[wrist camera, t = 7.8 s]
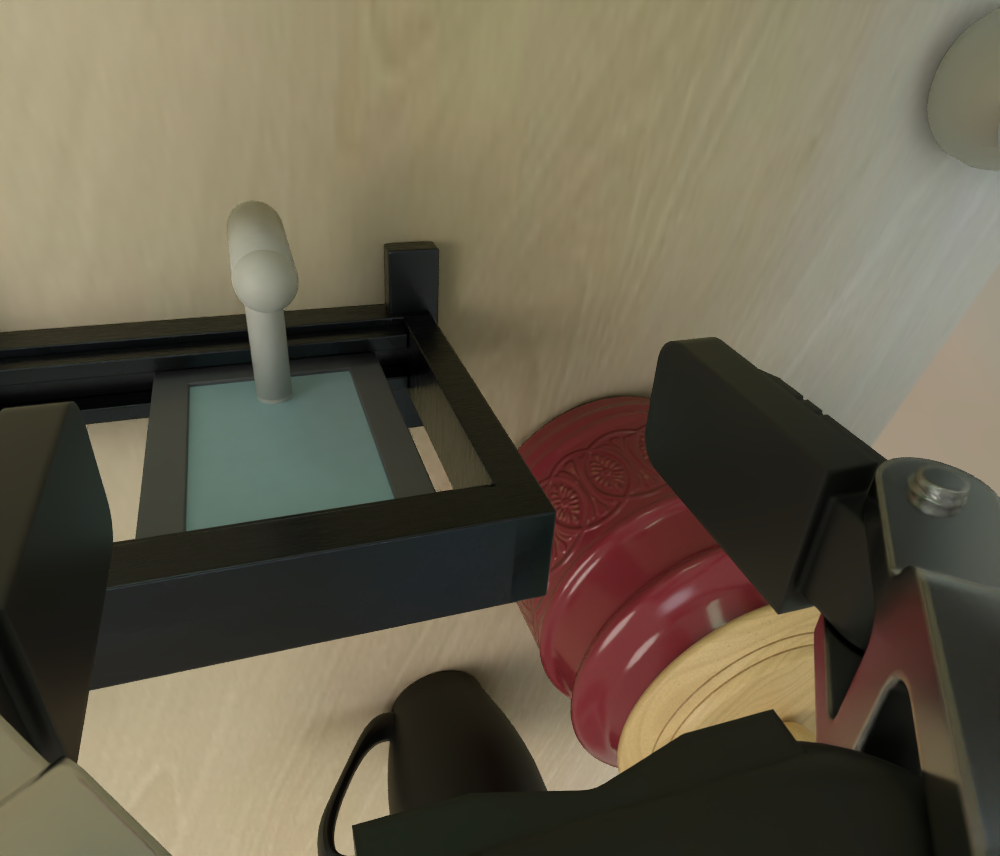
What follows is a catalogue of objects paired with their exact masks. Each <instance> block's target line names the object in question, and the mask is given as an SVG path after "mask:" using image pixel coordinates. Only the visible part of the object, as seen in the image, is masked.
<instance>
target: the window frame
mask: <svg viewBox="0 0 1000 856" xmlns="http://www.w3.org/2000/svg"><path fill="white" fill-rule="evenodd" d="M384 274H385V304H378V305H364V306H351V307H338V308H324V309H311V310H298V311H284V318H285V328H286V337H287V347H288V356H289V360H291V359H301V358H312V357H323V356H333V355H344V354H354V353H365V352H375V353H376V356H377V358H378V360H379V363H380V365H381V367H382V370H383V372H384V374H385V376H386V379H387V381H388V383H389V386H390V388H391V390H392V393H393V395H394V397H395V399H396V402H397V404H398V406H399V409H400V411H401V413H402V416H403V418H404V420H405V422H406V425H407V427H408V428H411V427H419V426H424V427H425V429H426V431H427V434H428V436H429V438H430V440H431V442H432V444H433V446H434V448H435V451H436V453H437V455H438V457H439V459H440V461H441V463H442V465H443V468H444V470H445V472H446V474H447V476H448V478H449V480H450V482H451V485H452V487H453V489H454V490H448V491H441V492H435V493H428V494H422V495H415V496H409V497H403V498H396V499H390V500H383V501H377V502H370V503H364V504H358V505H351V506H345V507H338V508H332V509H325V510H319V511H313V512H306V513H300V514H293V515H287V516H280V517H274V518H267V519H261V520H255V521H248V522H242V523H235V524H229V525H222V526H216V527H210V528H203V529H197V530H190V531H184V532H177V533H171V534H165V535H158V536H152V537H145V538H139V539H132V540H126V541H119V542H113V550H112V557H111V563H110V569H109V575H108V581H107V587H106V593H105V599H104V605H103V611H102V617H101V623H100V629H99V635H98V641H97V647H96V653H95V659H94V665H93V671H92V677H91V683H90V689H89V691H90V690H95V689H100V688H105V687H110V686H114V685H119V684H124V683H129V682H134V681H138V680H143V679H148V678H153V677H158V676H162V675H167V674H172V673H177V672H182V671H186V670H191V669H196V668H201V667H206V666H210V665H215V664H220V663H225V662H230V661H234V660H239V659H244V658H249V657H254V656H258V655H263V654H268V653H273V652H278V651H282V650H287V649H292V648H297V647H302V646H306V645H311V644H316V643H321V642H326V641H330V640H335V639H340V638H345V637H350V636H354V635H359V634H364V633H369V632H374V631H378V630H383V629H388V628H393V627H398V626H402V625H407V624H412V623H417V622H422V621H426V620H431V619H436V618H441V617H446V616H450V615H455V614H460V613H465V612H470V611H474V610H479V609H484V608H489V607H494V606H498V605H503V604H508V603H513V602H518V601H522V600H527V599H532V598H537V597H542V596H545V595H546V594H547V588H548V579H549V571H550V563H551V554H552V546H553V538H554V529H555V521H556V510H555V508H554V507H553V505H552V503H551V502H550V500H549V499H548V497H547V496H546V494H545V492H544V491H543V489H542V488H541V486H540V485H539V483H538V481H537V480H536V478H535V477H534V475H533V474H532V472H531V471H530V469H529V467H528V466H527V464H526V463H525V461H524V460H523V458H522V456H521V455H520V453H519V452H518V450H517V449H516V447H515V445H514V444H513V442H512V441H511V439H510V438H509V436H508V434H507V433H506V431H505V430H504V428H503V427H502V425H501V423H500V422H499V420H498V419H497V417H496V416H495V414H494V412H493V411H492V409H491V408H490V406H489V405H488V403H487V401H486V400H485V398H484V397H483V395H482V394H481V392H480V390H479V389H478V387H477V386H476V384H475V383H474V381H473V379H472V378H471V376H470V375H469V373H468V372H467V370H466V368H465V367H464V365H463V364H462V362H461V361H460V359H459V357H458V356H457V354H456V353H455V351H454V350H453V348H452V346H451V345H450V343H449V342H448V340H447V339H446V337H445V335H444V334H443V332H442V331H441V329H440V328H439V326H438V285H439V249H438V248H437V247H436V245H435V244H434V243H433V242H413V243H393V244H384ZM248 363H252V357H251V349H250V342H249V334H248V327H247V320H246V314H244V315H231V316H217V317H204V318H191V319H177V320H164V321H151V322H137V323H124V324H110V325H97V326H84V327H70V328H57V329H44V330H30V331H17V332H3V333H0V411H1V410H2V409H5V408H13V407H23V406H33V405H42V404H52V403H62V402H72V401H73V402H75V403H76V404H77V406H78V407H79V409H80V411H81V413H82V416H83V419H84V422H85V424H94V423H103V422H112V421H121V420H130V419H139V418H148V417H149V415H150V406H151V397H152V389H153V380H154V373H155V372H162V371H173V370H183V369H195V368H206V367H216V366H227V365H237V364H248Z"/></svg>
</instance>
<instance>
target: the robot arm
mask: <svg viewBox="0 0 1000 856" xmlns="http://www.w3.org/2000/svg"><path fill="white" fill-rule="evenodd" d="M645 445H646V450H647V454H648V457H649V460H650V462H651V464H652V466H653V467H654V469H655V470H656V471H657V472H658V474H659V475H660V476H661V477H662V478H663V480H664V481H665V482H666V483H667V484H668V485H669V487H670V488H671V489H672V490H673V491H674V492H675V494H676V495H677V496H678V497H679V498H680V500H681V501H682V502H683V503H684V504H685V505H686V507H687V508H688V509H689V510H690V511H691V513H692V514H693V515H694V516H695V517H696V518H697V520H698V521H699V522H700V523H701V524H702V526H703V527H704V528H705V529H706V530H707V531H708V533H709V534H710V535H711V536H712V537H713V538H714V540H715V541H716V542H717V543H718V544H719V546H720V547H721V548H722V549H723V550H724V551H725V553H726V554H727V555H728V556H729V557H730V559H731V560H732V561H733V562H734V563H735V564H736V566H737V567H738V568H739V569H740V570H741V572H742V573H743V574H744V575H745V576H746V577H747V579H748V580H749V581H750V582H751V583H752V585H753V586H754V587H755V588H756V589H757V590H758V592H759V593H760V594H761V595H762V596H763V597H764V599H765V600H766V601H767V602H768V603H769V605H770V606H771V607H772V608H773V609H774V610H775V612H776V613H777V614H778V615H780V614H784V613H788V612H792V611H797V610H801V609H805V608H809V607H814V606H815V607H816V608H817V609H818V610H819V611H820V612H821V614H820V616H819V619H818V622H817V624H816V627H815V629H814V676H815V724H816V742H808V741H796V739H795V738H794V737H793V735H792V734H791V732H790V731H789V730H788V728H787V727H786V726H785V724H784V723H783V722H782V720H781V719H780V718H779V716H778V715H777V713H776V712H775V711H774V709H771V710H767V711H764V712H760V713H756V714H753V715H749V716H745V717H742V718H738V719H735V720H731V721H727V722H724V723H720V724H717V725H713V726H709V727H706V728H702V729H699V730H695V731H691V732H688V733H684V734H682V735H680V736H679V737H677V738H676V739H674V740H672V741H671V742H669V743H668V744H666V745H665V746H663V747H661V748H660V749H658V750H657V751H655V752H653V753H652V754H650V755H649V756H647V757H646V758H644V759H642V760H641V761H639V762H638V763H636V764H635V765H633V766H631V767H630V768H628V769H627V770H625V771H623V772H622V773H620V774H619V775H617V776H616V777H614V778H612V779H611V780H609V781H608V782H606V783H605V784H603V785H601V786H599V787H597V788H593V789H590V790H580V791H534V792H488V793H468V794H464V795H461V796H457V797H453V798H450V799H446V800H442V801H439V802H435V803H432V804H428V805H424V806H421V807H417V808H414V809H410V810H406V811H403V812H399V813H396V814H392V815H388V816H385V817H381V818H378V819H374V820H370V821H367V822H363V823H360V824H356V825H352V829H353V839H354V849H355V856H1000V497H999V496H998V495H997V494H996V493H995V492H994V491H993V490H992V489H991V488H990V487H989V486H988V485H986V484H985V483H984V482H982V481H981V480H979V479H978V478H976V477H974V476H973V475H971V474H969V473H967V472H965V471H963V470H960V469H958V468H956V467H953V466H950V465H947V464H944V463H941V462H937V461H933V460H929V459H923V458H913V457H903V458H902V457H901V458H894V459H891V460H887V459H885V458H884V457H883V456H881V455H880V454H879V453H877V452H876V451H875V450H873V449H872V448H871V447H870V446H868V445H867V444H866V443H864V442H863V441H862V440H860V439H859V438H858V437H856V436H855V435H854V434H852V433H851V432H850V431H848V430H847V429H846V428H845V427H843V426H842V425H841V424H839V423H838V422H837V421H835V420H834V419H833V418H831V417H830V416H829V415H823V414H822V410H821V409H820V408H818V407H817V406H816V405H814V404H813V403H812V402H810V401H809V400H803V396H802V395H801V394H800V393H798V392H797V391H796V390H794V389H793V388H792V387H791V386H789V385H788V384H787V383H785V382H784V381H783V380H781V379H780V378H778V377H776V376H773V375H771V374H769V373H767V372H764V371H762V370H760V369H758V368H757V367H755V366H754V365H753V364H751V363H750V362H749V361H748V360H746V359H745V358H744V357H742V356H741V355H740V354H738V353H737V352H736V351H735V350H733V349H732V348H731V347H729V346H728V345H727V344H726V343H724V342H723V341H722V340H720V339H718V338H716V337H708V338H698V339H688V340H678V341H670V342H668V343H666V344H665V345H664V346H663V347H662V349H661V351H660V354H659V357H658V361H657V367H656V372H655V378H654V383H653V389H652V394H651V400H650V405H649V411H648V416H647V422H646V428H645ZM112 550H113V530H112V521H111V514H110V509H109V504H108V501H107V497H106V494H105V490H104V487H103V484H102V480H101V477H100V473H99V470H98V466H97V463H96V460H95V456H94V453H93V449H92V446H91V442H90V439H89V436H88V432H87V429H86V425H85V422H84V419H83V416H82V413H81V411H80V409H79V407H78V406H77V404H76V403H75V402H73V401H72V402H62V403H52V404H42V405H33V406H23V407H13V408H5V409H2V410H1V411H0V856H172V855H171V854H170V853H169V852H168V851H167V850H166V849H165V848H164V847H163V846H162V845H161V844H160V843H159V842H158V841H157V840H156V839H155V838H154V837H153V836H151V835H150V834H149V833H148V832H147V831H146V830H145V829H144V828H143V827H142V826H141V825H140V824H139V823H138V822H137V821H136V820H135V819H134V818H133V817H132V816H131V815H130V814H129V813H128V812H127V811H126V810H125V809H124V808H123V807H122V806H121V805H120V804H119V803H118V802H117V801H116V800H115V799H114V798H113V797H112V796H111V795H110V794H109V793H108V792H107V791H106V790H104V789H103V788H102V787H101V786H100V785H99V784H98V783H97V782H96V781H95V780H94V779H93V778H92V777H91V776H90V775H89V774H88V773H87V772H86V771H85V770H84V769H83V768H82V767H80V766H79V765H78V764H77V761H78V755H79V749H80V743H81V737H82V731H83V725H84V719H85V713H86V707H87V701H88V695H89V689H90V683H91V677H92V671H93V665H94V659H95V653H96V647H97V641H98V635H99V629H100V623H101V617H102V611H103V605H104V599H105V593H106V587H107V581H108V575H109V569H110V563H111V557H112Z"/></svg>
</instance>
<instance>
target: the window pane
mask: <svg viewBox="0 0 1000 856" xmlns="http://www.w3.org/2000/svg"><path fill="white" fill-rule="evenodd" d="M227 234H228V245H229V256H230V267H231V278H232V285H233V289H234V291H235V293H236V295H237V297H238V298H239V300H240V301H241V302H242V303H243V304H244V305H245V312H246V320H247V327H248V334H249V342H250V349H251V357H252V363H248V364H237V365H227V366H216V367H206V368H195V369H183V370H173V371H162V372H155V373H154V380H153V389H152V397H151V406H150V415H149V424H148V433H147V441H146V450H145V459H144V468H143V477H142V485H141V494H140V503H139V512H138V521H137V529H136V538H135V539H139V538H145V537H152V536H158V535H165V534H171V533H177V532H184V531H190V530H197V529H203V528H210V527H216V526H222V525H229V524H235V523H242V522H248V521H255V520H261V519H267V518H274V517H280V516H287V515H293V514H300V513H306V512H313V511H319V510H325V509H332V508H338V507H345V506H351V505H358V504H364V503H370V502H377V501H383V500H390V499H396V498H403V497H409V496H415V495H422V494H428V493H435V492H436V491H435V489H434V487H433V485H432V482H431V480H430V478H429V475H428V473H427V471H426V468H425V466H424V464H423V462H422V459H421V457H420V455H419V452H418V450H417V448H416V445H415V443H414V441H413V439H412V436H411V434H410V432H409V429H408V427H407V425H406V422H405V420H404V418H403V416H402V413H401V411H400V409H399V406H398V404H397V402H396V399H395V397H394V395H393V393H392V390H391V388H390V386H389V383H388V381H387V379H386V376H385V374H384V372H383V370H382V367H381V365H380V363H379V360H378V358H377V356H376V353H375V352H365V353H354V354H344V355H333V356H323V357H312V358H301V359H291V360H289V356H288V347H287V337H286V328H285V318H284V309H283V308H285V307H286V306H288V305H289V304H290V303H291V301H292V300H293V299H294V297H295V295H296V293H297V290H298V274H297V271H296V268H295V264H294V261H293V258H292V254H291V251H290V248H289V244H288V241H287V238H286V234H285V231H284V227H283V224H282V221H281V219H280V217H279V215H278V214H277V212H276V211H275V210H274V209H273V208H272V207H270V206H269V205H267V204H265V203H263V202H259V201H246V202H244V203H241V204H239V205H238V206H236V207H235V208H234V209H233V210H232V212H231V213H230V215H229V218H228V221H227Z"/></svg>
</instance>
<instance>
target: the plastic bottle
mask: <svg viewBox="0 0 1000 856" xmlns="http://www.w3.org/2000/svg"><path fill="white" fill-rule="evenodd" d="M927 115H928V121H929V125H930V128H931V130H932V133H933V135H934V137H935V140H936V142H937V144H938V145H939V146H940V148H941V149H942V150H943V151H945V152H946V153H948V154H949V155H951V156H953V157H955V158H956V159H958V160H960V161H962V162H964V163H965V164H967V165H969V166H971V167H975V168H979V169H986V170H994V171H1000V8H998V9H996V10H994V11H992V12H990V13H989V14H987V15H986V16H984V17H983V18H981V19H980V20H978V21H977V22H975V23H974V24H973V25H971V26H970V27H969V28H968V29H966V30H965V31H964V32H963V33H962V34H961V35H960V36H959V37H958V38H957V39H956V41H955V42H954V43H953V45H952V46H951V47H950V48H949V50H948V51H947V53H946V54H945V56H944V58H943V59H942V61H941V63H940V65H939V67H938V69H937V71H936V73H935V76H934V78H933V82H932V85H931V88H930V92H929V97H928V106H927Z"/></svg>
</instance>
